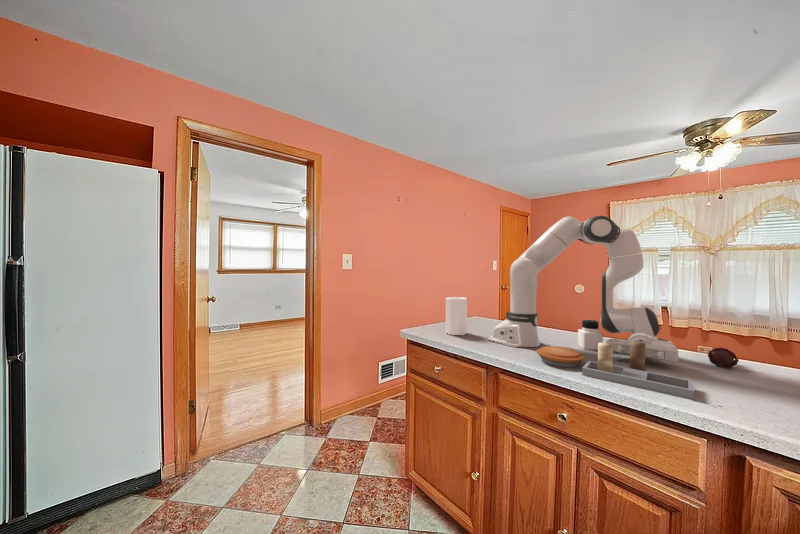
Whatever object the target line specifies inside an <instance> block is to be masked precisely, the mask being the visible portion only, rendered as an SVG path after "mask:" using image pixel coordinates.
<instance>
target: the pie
mask: <svg viewBox="0 0 800 534" xmlns="http://www.w3.org/2000/svg"><path fill="white" fill-rule="evenodd" d="M536 354H537V355H539V357H540V358H541V361H542V362H543V363H545V364H547V365H550V366H554V367H558V368H568V369H569V368H576V367H578V366H579V365H580V363H581V362H582V361H583V360H584V359H585V356H584V355H583V354H582V353H580V352H579V351H578V350H576V349H572V348H570V347H569V348H568V347H564V346H557V345H547V346H542V347H541V348H538V349H536Z"/></svg>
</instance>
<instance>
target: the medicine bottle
mask: <svg viewBox="0 0 800 534" xmlns="http://www.w3.org/2000/svg"><path fill="white" fill-rule="evenodd" d="M599 326H600V325H599V321H597V320H595V319H583V320H582V322H581V329H577V345H578V346H579V347H580V348H582V349H584V350H589V349H590V350H591V351H598V343H604V342H603V339H604V334H603V333H601V332H600V331H599V328H600V327H599Z"/></svg>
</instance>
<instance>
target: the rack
mask: <svg viewBox="0 0 800 534" xmlns="http://www.w3.org/2000/svg"><path fill="white" fill-rule="evenodd" d="M581 375H582V376H585V377H589V378H595V379H599V380H602V381H603V380H604V381H606V382H607V381H609V382H611V383H617V384H621V385H627V386H631V387H635V388H639V389H645V390H648V391H653V392H658V393H662V394H667V395H672V396H676V397H680V398H685V399H688V400H689V399H690V400H692V401H695V387H694V381H693V380H692V379H688V378H682V377H677V376H673V375H667V374H661V373H656V372H651V371H646V370H645V371H641V370H636V369H631V368H630V367H625V366H619V365H614V364H613V373H610V372H605V371H600V370H598V361H592V360H587V362H586V363H585V364H584V365H583V366H582V367H581Z"/></svg>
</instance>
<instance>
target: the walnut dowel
mask: <svg viewBox="0 0 800 534" xmlns="http://www.w3.org/2000/svg"><path fill="white" fill-rule="evenodd" d="M629 368H631V369H636V370H641V371H646V359H645V344H644V343H641V342H630V354H629Z"/></svg>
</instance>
